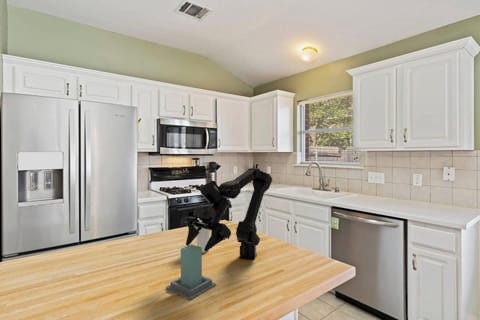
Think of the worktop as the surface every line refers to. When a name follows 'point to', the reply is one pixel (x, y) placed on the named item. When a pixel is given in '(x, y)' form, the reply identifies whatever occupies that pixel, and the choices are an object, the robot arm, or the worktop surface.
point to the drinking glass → (203, 238)
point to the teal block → (191, 266)
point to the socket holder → (190, 293)
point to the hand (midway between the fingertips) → (195, 248)
